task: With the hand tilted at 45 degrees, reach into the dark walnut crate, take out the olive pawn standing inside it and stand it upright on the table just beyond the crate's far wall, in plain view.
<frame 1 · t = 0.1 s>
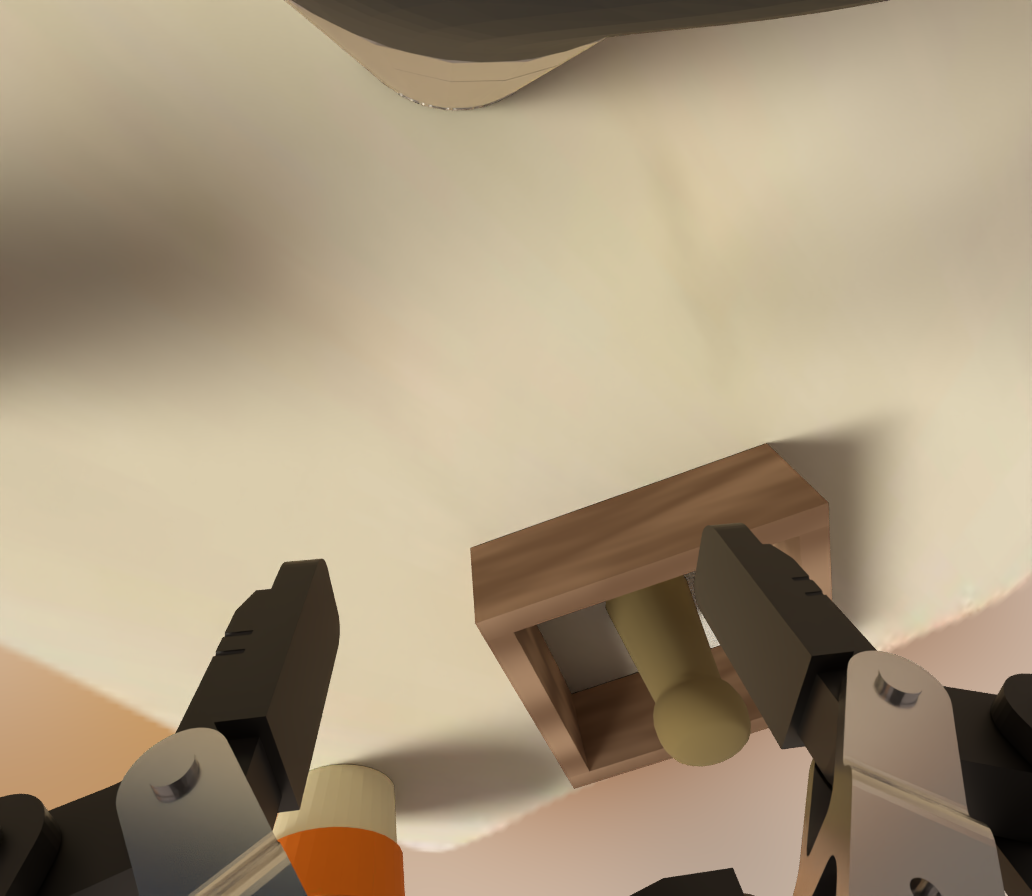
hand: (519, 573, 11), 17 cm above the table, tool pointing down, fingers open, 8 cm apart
olive pawn: (645, 595, 38), resting in walnut crate
reusable coffee cup: (342, 791, 46), on the table
walnut crate: (646, 597, 38), on the table
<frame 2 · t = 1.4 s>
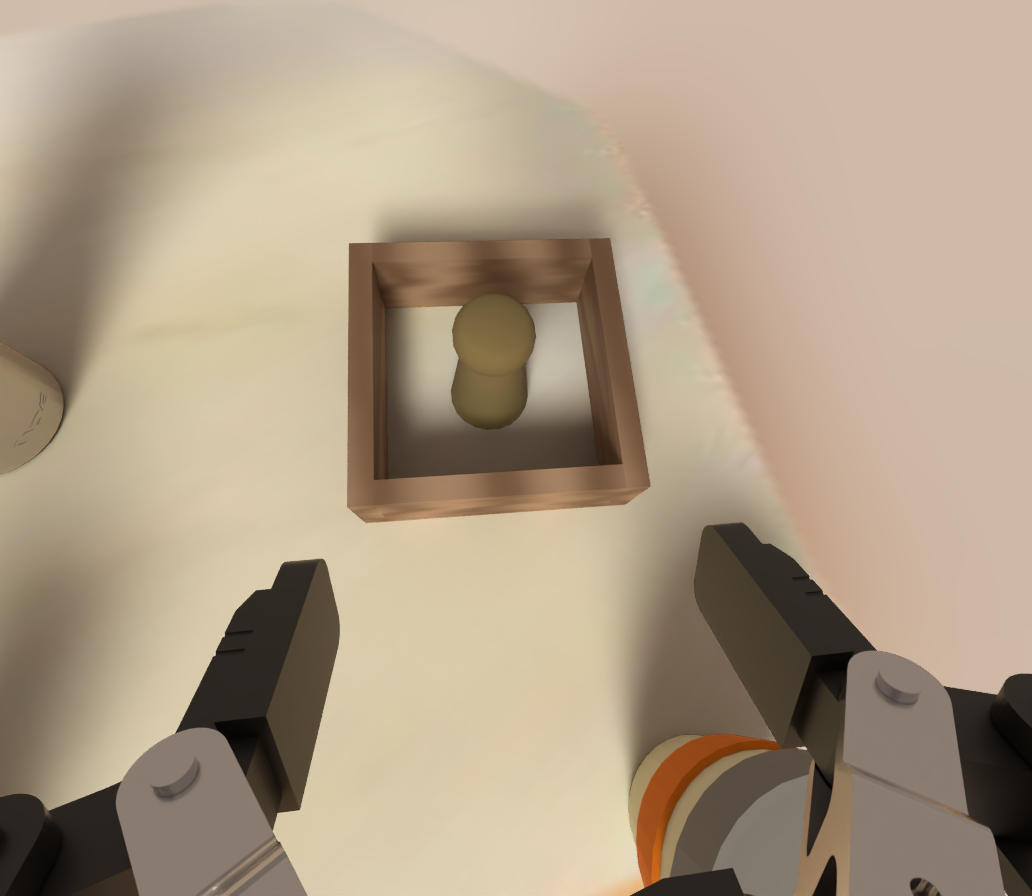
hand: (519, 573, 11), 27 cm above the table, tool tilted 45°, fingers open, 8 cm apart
olive pawn: (489, 394, 42), resting in walnut crate
reusable coffee cup: (694, 810, 35), on the table
walnut crate: (489, 393, 42), on the table
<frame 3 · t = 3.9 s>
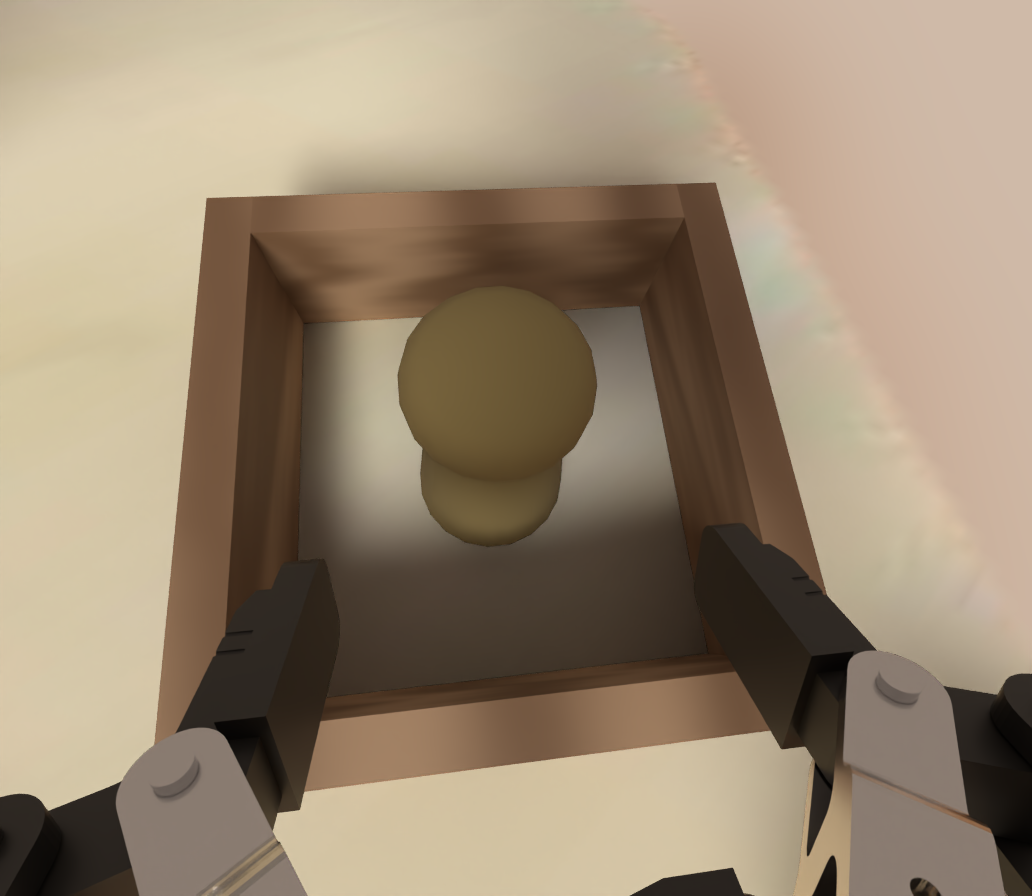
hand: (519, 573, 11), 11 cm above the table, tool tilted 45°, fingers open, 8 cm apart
olive pawn: (490, 477, 23), resting in walnut crate
walnut crate: (491, 476, 23), on the table
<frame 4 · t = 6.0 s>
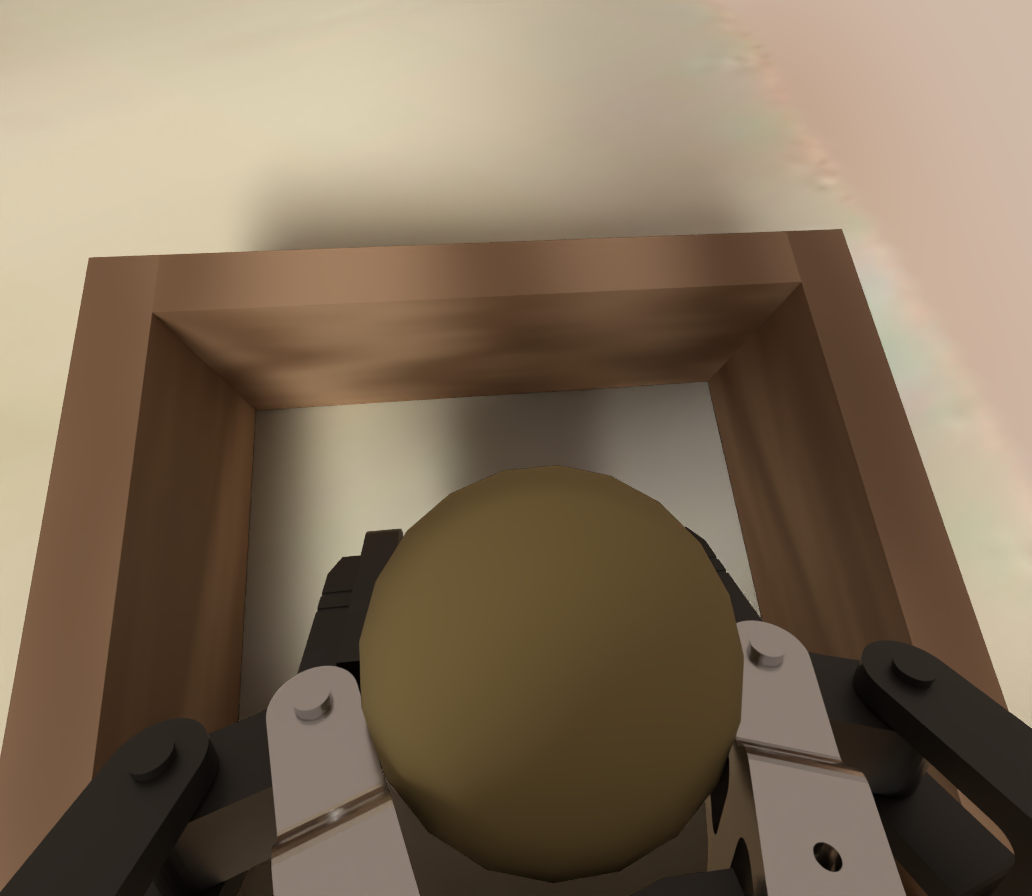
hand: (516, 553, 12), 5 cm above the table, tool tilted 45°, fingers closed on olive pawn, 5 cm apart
olive pawn: (511, 633, 17), resting in walnut crate, touching gripper
walnut crate: (511, 633, 16), on the table
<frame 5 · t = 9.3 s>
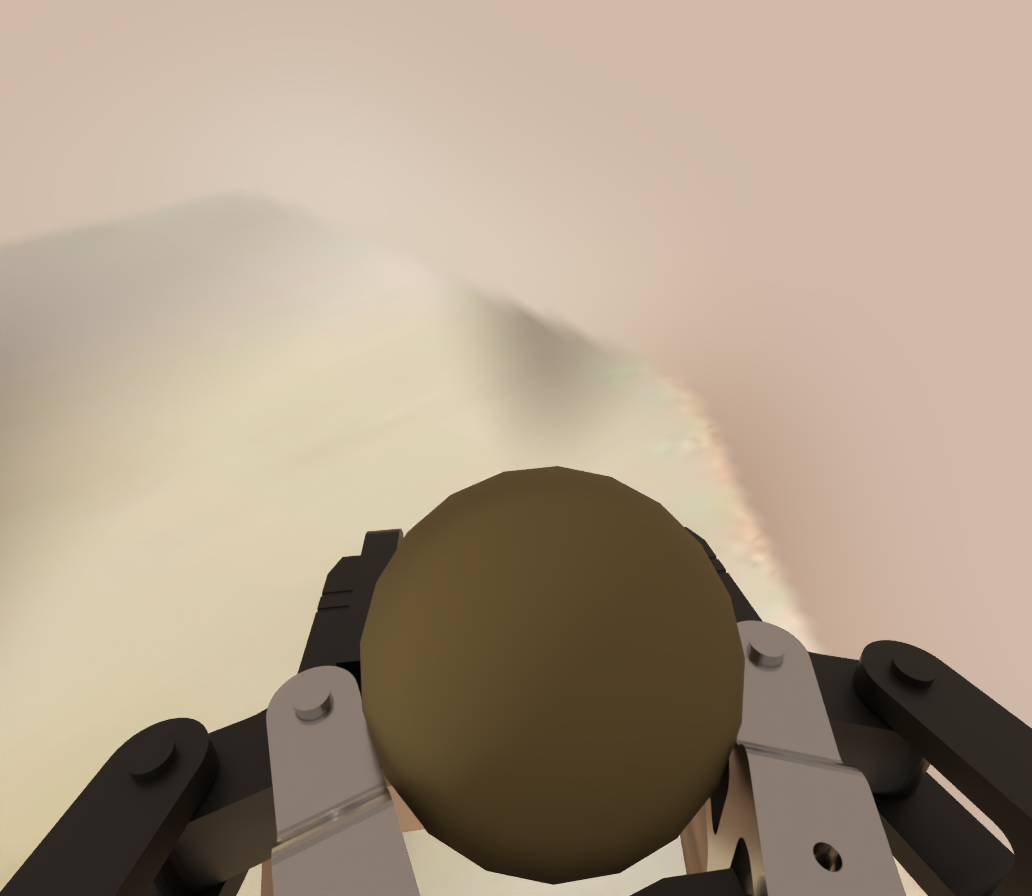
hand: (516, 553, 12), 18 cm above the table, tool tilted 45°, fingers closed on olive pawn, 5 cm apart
olive pawn: (514, 633, 17), point 13 cm above the table, touching gripper
when the fingers open (6 cm above the table, at t = 12.7 s): olive pawn drops 1 cm, on the table.
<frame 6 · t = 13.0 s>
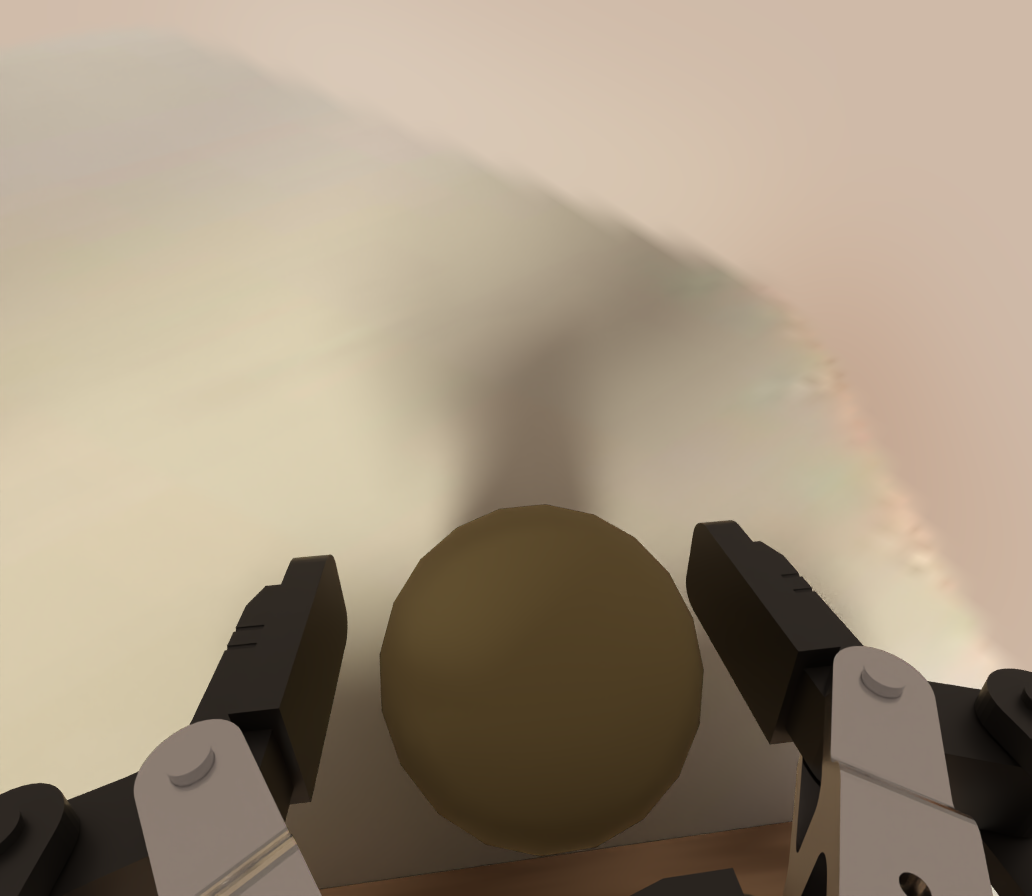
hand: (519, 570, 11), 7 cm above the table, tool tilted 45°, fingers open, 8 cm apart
olive pawn: (509, 641, 18), on the table
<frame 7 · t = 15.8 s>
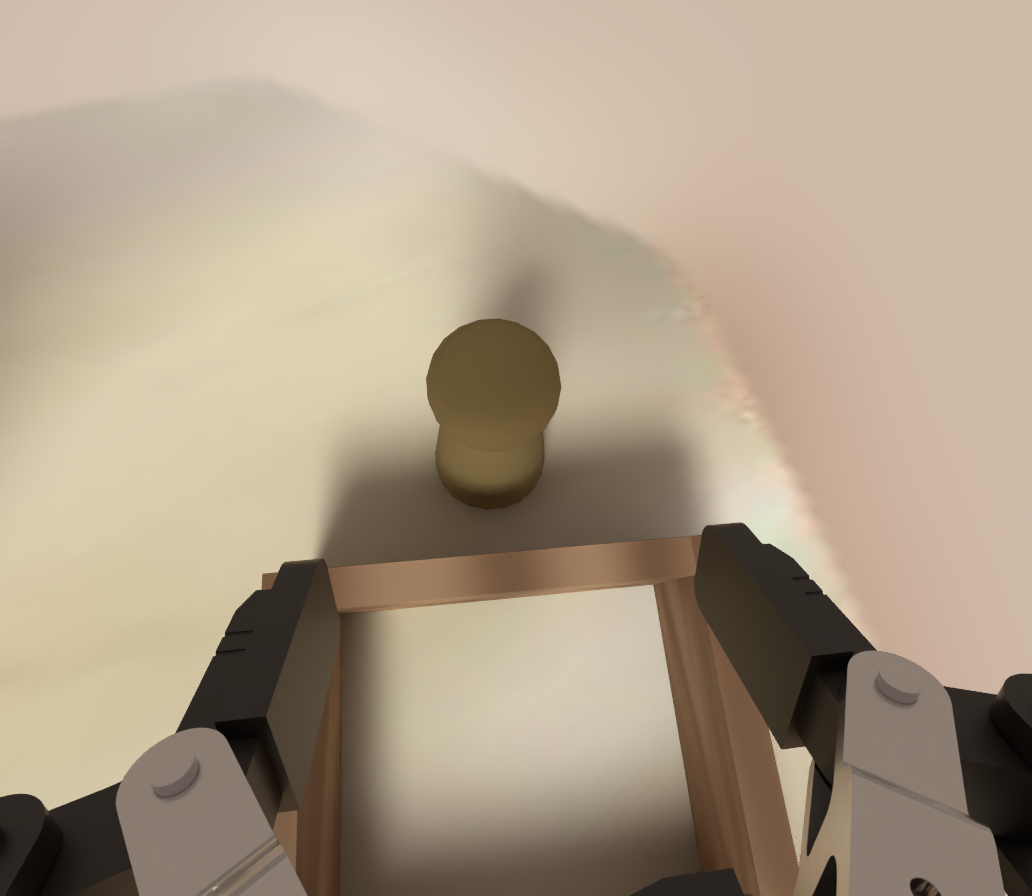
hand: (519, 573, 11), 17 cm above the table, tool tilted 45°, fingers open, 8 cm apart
olive pawn: (490, 456, 30), on the table
walnut crate: (516, 776, 25), on the table
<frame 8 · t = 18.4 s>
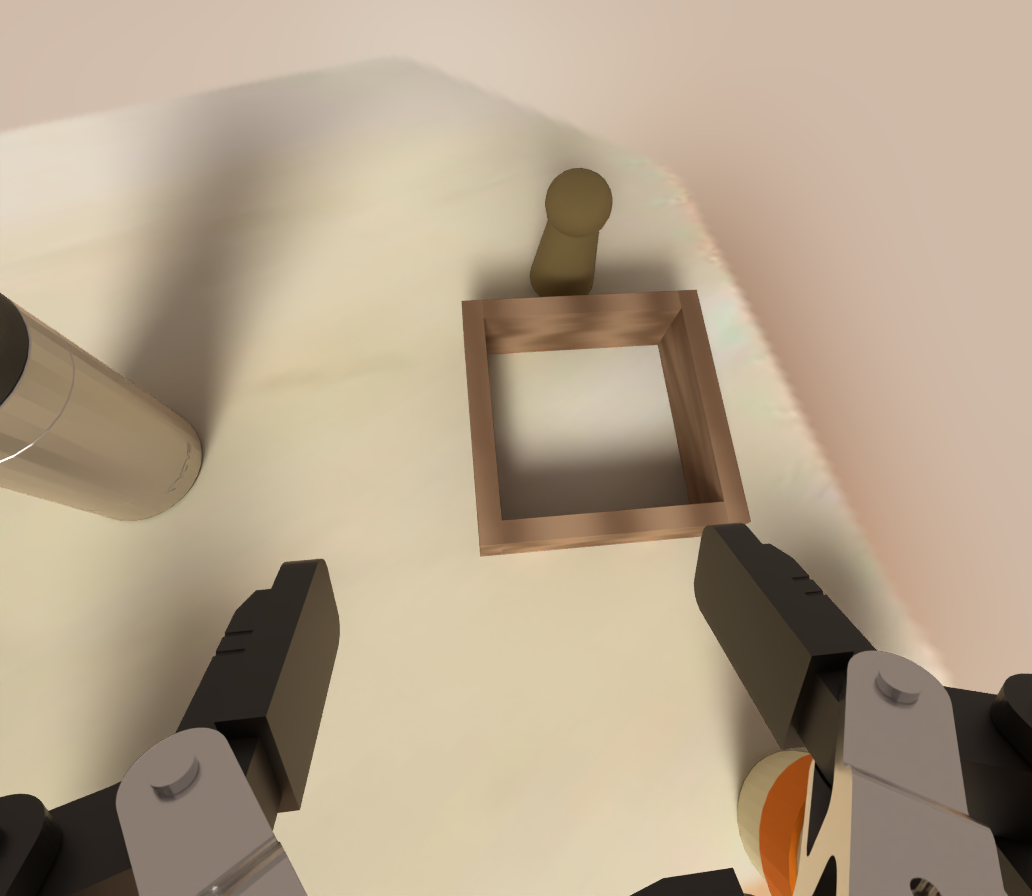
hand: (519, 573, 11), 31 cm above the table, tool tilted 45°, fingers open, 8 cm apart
olive pawn: (561, 278, 50), on the table
reusable coffee cup: (798, 820, 37), on the table
walnut crate: (583, 432, 45), on the table
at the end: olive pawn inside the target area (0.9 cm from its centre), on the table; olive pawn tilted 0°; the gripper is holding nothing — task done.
